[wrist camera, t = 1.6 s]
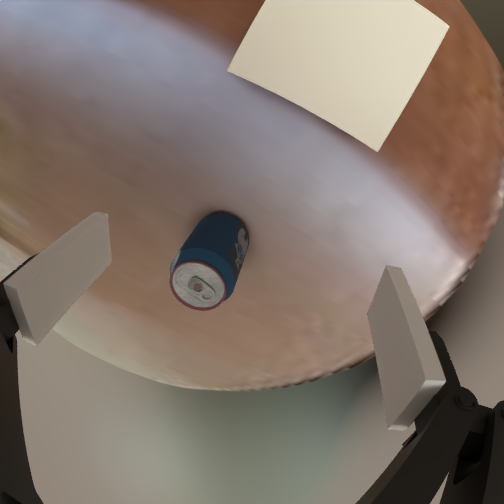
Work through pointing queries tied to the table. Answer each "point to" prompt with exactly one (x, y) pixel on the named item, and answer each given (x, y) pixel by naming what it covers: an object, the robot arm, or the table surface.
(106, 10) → the table surface
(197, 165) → the table surface
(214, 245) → the soda can
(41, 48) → the table surface
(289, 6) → the small white stool
